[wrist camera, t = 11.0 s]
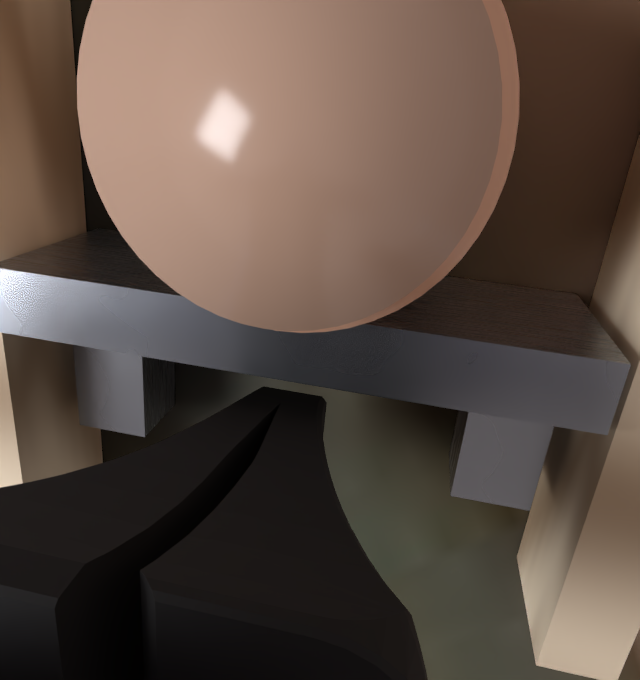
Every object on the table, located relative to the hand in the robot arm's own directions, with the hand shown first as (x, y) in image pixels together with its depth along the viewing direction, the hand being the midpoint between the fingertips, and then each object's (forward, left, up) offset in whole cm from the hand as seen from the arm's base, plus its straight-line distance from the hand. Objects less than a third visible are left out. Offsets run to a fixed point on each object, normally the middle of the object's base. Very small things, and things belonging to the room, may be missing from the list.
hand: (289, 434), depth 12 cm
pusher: (+1, 0, -2) cm, 2 cm away
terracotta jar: (+6, 0, -2) cm, 6 cm away
